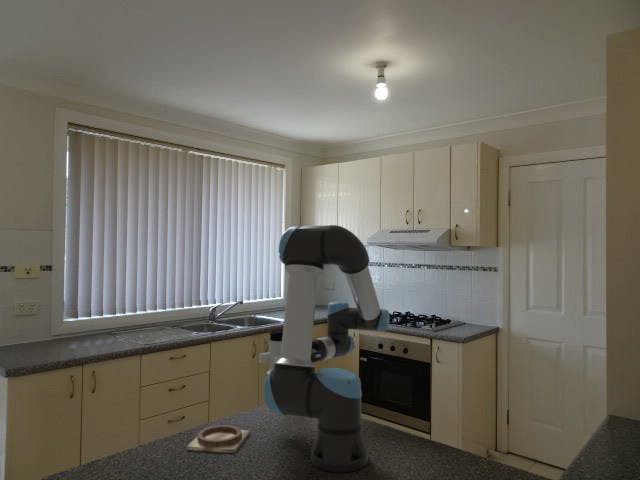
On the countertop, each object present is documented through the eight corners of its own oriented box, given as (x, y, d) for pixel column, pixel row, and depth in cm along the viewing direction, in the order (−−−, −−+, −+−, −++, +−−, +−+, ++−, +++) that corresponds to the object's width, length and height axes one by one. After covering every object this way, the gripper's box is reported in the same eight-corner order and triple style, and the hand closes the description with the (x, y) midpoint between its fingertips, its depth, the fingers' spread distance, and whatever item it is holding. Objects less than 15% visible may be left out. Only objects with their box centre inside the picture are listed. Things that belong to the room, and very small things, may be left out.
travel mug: (287, 396, 144) (288, 331, 145) (266, 395, 145) (267, 330, 146) (292, 390, 150) (292, 327, 151) (271, 389, 151) (272, 327, 152)
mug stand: (249, 433, 144) (249, 425, 144) (234, 453, 130) (234, 443, 130) (206, 431, 146) (206, 423, 146) (186, 449, 132) (186, 440, 132)
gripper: (340, 365, 155) (288, 378, 138) (299, 356, 168) (247, 367, 151) (340, 342, 155) (288, 352, 138) (299, 335, 168) (248, 343, 151)
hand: (267, 360), depth 145 cm, fingers closed on travel mug, 6 cm apart
